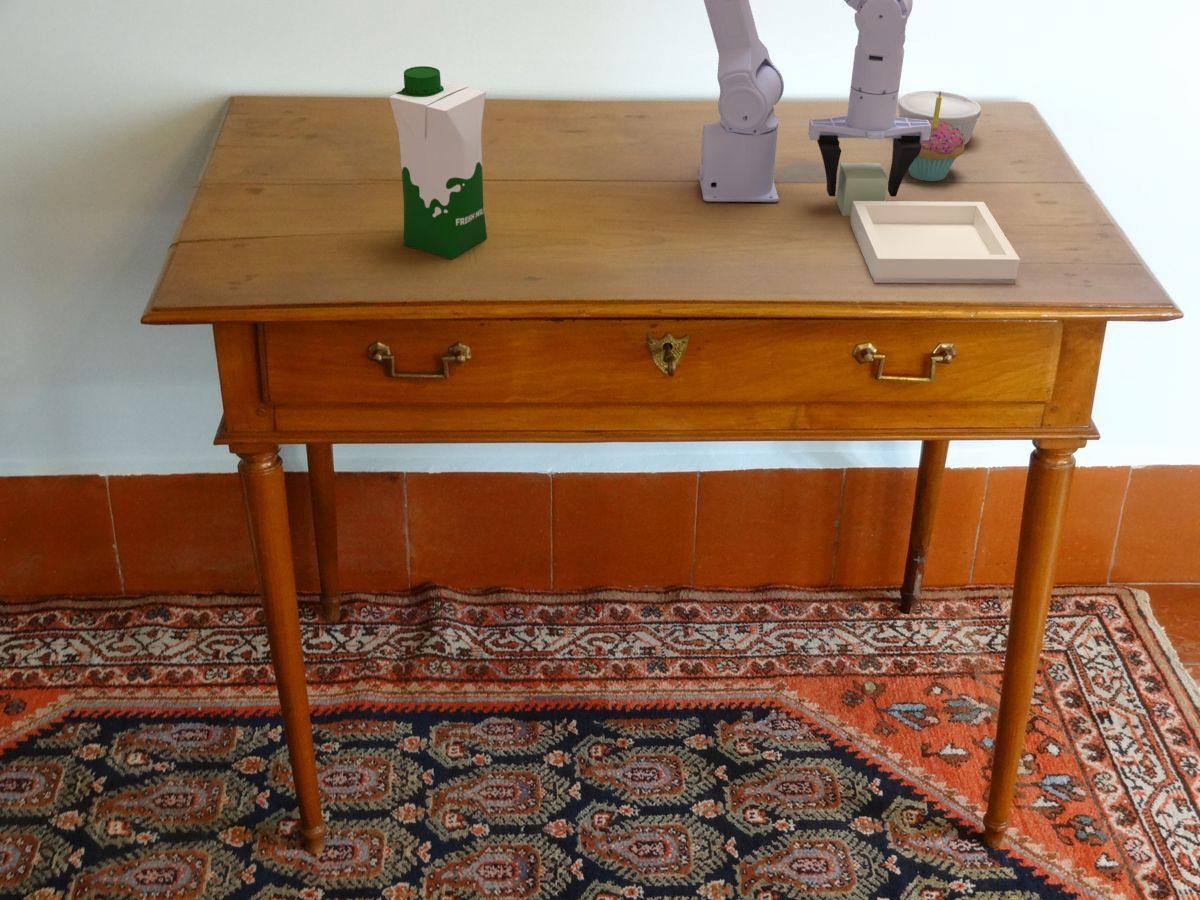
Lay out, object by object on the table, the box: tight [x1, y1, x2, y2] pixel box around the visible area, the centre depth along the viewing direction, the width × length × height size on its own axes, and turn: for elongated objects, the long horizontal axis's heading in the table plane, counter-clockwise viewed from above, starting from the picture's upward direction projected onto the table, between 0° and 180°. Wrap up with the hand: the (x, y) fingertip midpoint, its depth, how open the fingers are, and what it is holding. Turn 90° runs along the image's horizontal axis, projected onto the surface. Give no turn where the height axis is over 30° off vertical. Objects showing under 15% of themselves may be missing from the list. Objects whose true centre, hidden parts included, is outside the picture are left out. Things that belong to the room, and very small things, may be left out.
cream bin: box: [849, 200, 1021, 285], centre depth 158 cm, size 16×16×3 cm
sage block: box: [835, 162, 889, 217], centre depth 168 cm, size 5×5×5 cm
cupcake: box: [908, 90, 965, 182], centre depth 176 cm, size 9×8×12 cm
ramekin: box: [897, 90, 982, 146], centre depth 189 cm, size 11×11×5 cm
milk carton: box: [389, 65, 488, 260], centre depth 154 cm, size 9×9×20 cm
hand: (861, 193), depth 169 cm, fingers open, 7 cm apart
